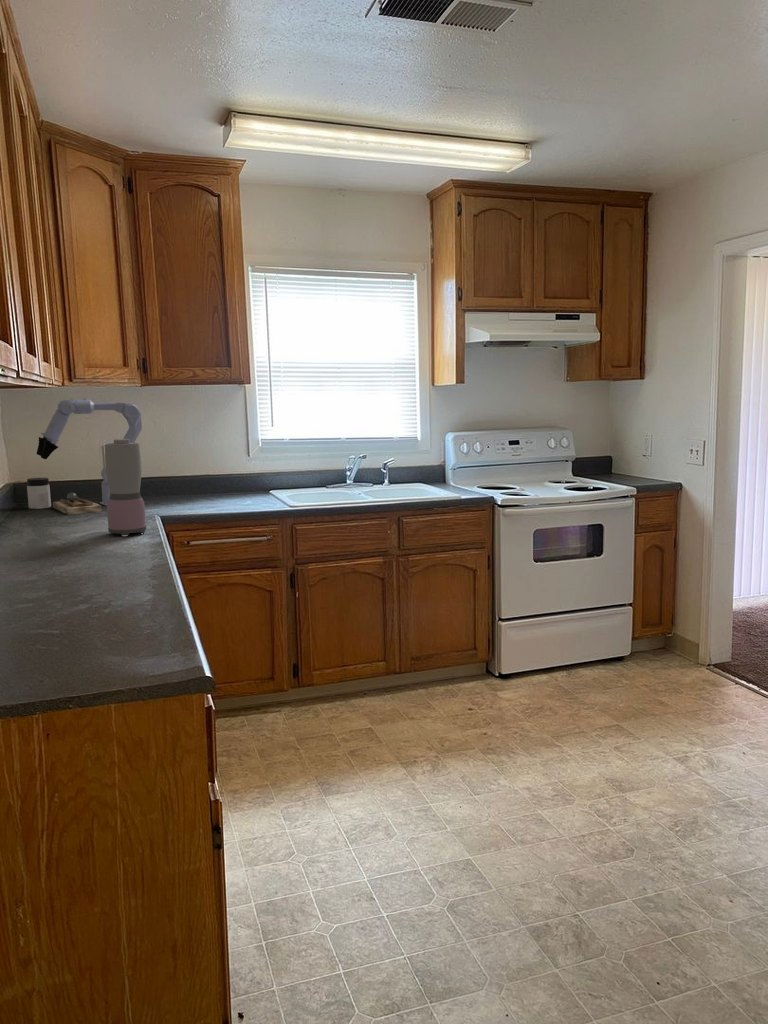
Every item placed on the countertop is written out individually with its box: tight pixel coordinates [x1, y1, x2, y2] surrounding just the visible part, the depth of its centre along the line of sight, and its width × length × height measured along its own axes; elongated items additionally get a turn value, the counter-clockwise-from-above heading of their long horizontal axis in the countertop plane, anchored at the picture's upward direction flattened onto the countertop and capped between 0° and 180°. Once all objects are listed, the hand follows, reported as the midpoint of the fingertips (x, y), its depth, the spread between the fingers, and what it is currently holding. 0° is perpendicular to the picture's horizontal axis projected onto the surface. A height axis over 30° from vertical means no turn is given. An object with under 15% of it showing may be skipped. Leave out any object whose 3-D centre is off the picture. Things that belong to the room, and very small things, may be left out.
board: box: [52, 497, 103, 516], centre depth 305 cm, size 13×22×3 cm, turn 37°
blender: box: [104, 438, 147, 536], centre depth 253 cm, size 16×12×32 cm
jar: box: [26, 477, 52, 510], centre depth 311 cm, size 9×8×12 cm
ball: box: [66, 492, 79, 502], centre depth 310 cm, size 4×4×4 cm
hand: (41, 456), depth 306 cm, fingers open, 7 cm apart
